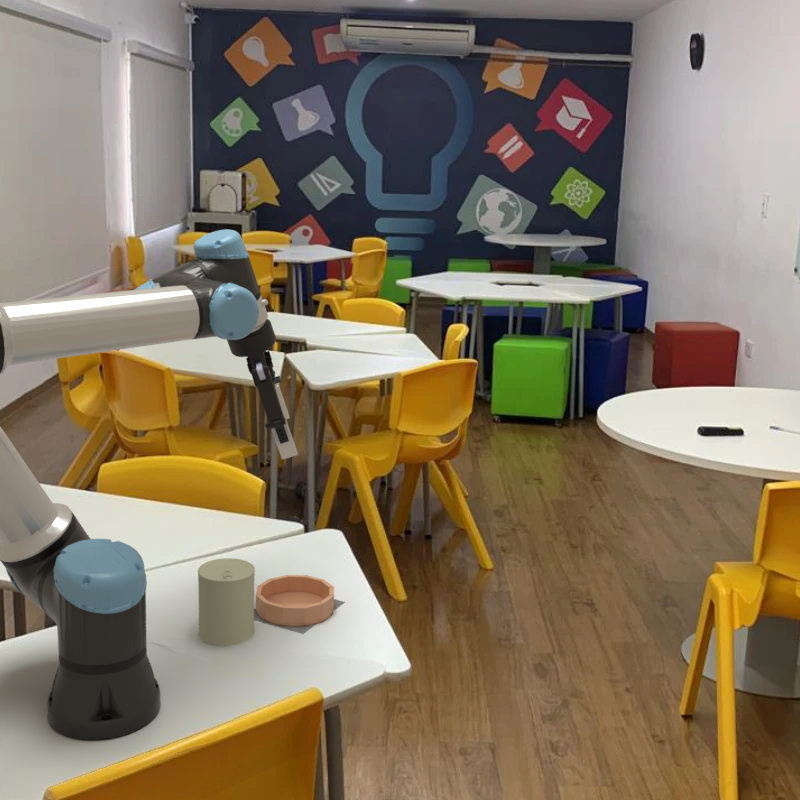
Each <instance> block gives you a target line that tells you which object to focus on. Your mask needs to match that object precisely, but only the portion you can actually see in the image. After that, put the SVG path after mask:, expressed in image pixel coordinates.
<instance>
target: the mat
mask: <svg viewBox="0 0 800 800" xmlns="http://www.w3.org/2000/svg"><path fill="white" fill-rule="evenodd" d="M345 603H346V601H343V600H339V599H335V598H334V611H336V610H337V609H338V608H339V607H341V606H342V605H343V604H345ZM254 621H256V622H259V623H263V624H265V625H266V624H267V625H270V626H274V627H278V628H281V629H284V630H287V631H290V632H295V633H299V634H302V635H304V634H305V633H306V632H307V631H309V630H310V629H311V628H313V627H315V625H317V624H314V625H309V626H302V627H287V626H279V625H275V624H272V623H269V622H266V621H265V620H263V619H262V618H260V617H259V616H258V614H257V611H256V607H254Z"/></svg>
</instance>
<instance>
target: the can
mask: <svg viewBox="0 0 800 800" xmlns="http://www.w3.org/2000/svg"><path fill="white" fill-rule="evenodd" d="M255 573H256V568H255V566H254V565H253V564H252V563H251V562H250V561H248V560H244V559H239V558H228V557H227V558H217V559H212V560H208V561H206V562H204V563H202V564H201V565H199V567H198V569H197V576H198V577H197V578H198V581H197V582H198V584H197V585H198V631H197V636H198V638H199V639H200V640H201V641H203V643H206V644H209V645H212V646H220V647H221V646H224V647H226V646H228V647H229V646H235V645H240V644H243V643H245V642H247V641H250V640H251V639H252V638H253V636H254V635H255V632H256V631H255V620H254V609H255V575H256V574H255Z"/></svg>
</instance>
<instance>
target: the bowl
mask: <svg viewBox="0 0 800 800" xmlns="http://www.w3.org/2000/svg"><path fill="white" fill-rule="evenodd" d="M256 587H257V588H256V593H255V608H256V611H257V614H258V616H259V617H260V618H262V619H263V620H265V621H266V622H269V623H272V624H275V625H279V626H287V627H302V626H309V625H314V624H316V625H317V624H320V623H323V622H325V621H326V620H327V619H329V618H330V617H331V616H332V615H333V614H334V611H335V610H334V599H335V587H334V585H332V584H330V583H329V582H328V581H326V580H325V579H323V578H319V577H315V576H312V575H307V574H306V575H305V574H301V575H299V574H285V575H281V576H275V577H271V578H268V579H266V580H265V581H263V582H261V583H260V584H259V585H257V586H256ZM314 626H315V625H314Z"/></svg>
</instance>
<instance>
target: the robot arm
mask: <svg viewBox="0 0 800 800" xmlns="http://www.w3.org/2000/svg"><path fill="white" fill-rule="evenodd" d="M193 251H194V252H193V253H194V258H192V259H190V260H189V261H188V262H186V263H183V264H180V265H179V266H177V267H175V268H173V269H171V270H169V271H167V272H165V273H162V274H160V275H158V276H157V277H154V278H153V279H152V278H149V280H148V281H146V282H145V283H143V284H141V285H140V286H138V287H136V288H134V289H133V290H131V289H130V290H121V291H111V292H102V293H101V292H98V293H91V294H79V295H70V296H59V297H49V298H48V297H47V298H40V299H39V298H37V299H30V300H29V299H28V300H21V301H20V300H18V301H10V302H0V376H1V375H2V374H4V372H5V371H6V369H7V368H9V367H8V366H14V365H15V366H16V365H20V364H27V363H28V364H30V363H36V362H42V361H48V360H56V359H57V360H58V359H62V358H64V359H65V358H70V357H78V356H84V355H85V356H86V355H90V354H99V353H106V352H111V351H112V352H113V351H119V350H127V349H134V348H141V347H146V346H147V347H148V346H154V345H160V344H161V345H162V344H167V343H175V342H184V341H190V340H200V339H206V338H214V337H215V338H219V339H222V340H225V341H227V345H228V348H229V350H230V352H231V353H232V355H233V356H235V357H238V358H244V357H245V358H246V363H247V364H246V366H247V369H248V371H249V374H250V375H251V376H252V380H253V382H254V384H253V385H254V386H255V388H257V390H258V394H259V396H260V400H261V403H262V407H263V409H264V412H265V415H266V418H267V421H268V423H265V425H264V426H265V429H270V430H271V432H272V435H273V438H274V441H275V443H276V447H277V449H278V452H279V455H280V458H281V460H286V459H290V458H292V457H296V456H299V453H298V450H297V447H296V443H295V441H294V438H293V436H292V432H291V430H290V427H289V423H288V421H287V420H288V419H290V418H291V417H290V413H289V410H288V408H287V405H286V403H285V399H284V397H283V394H282V391H281V387H280V385H279V383H282V379H281V376H280V375H277V376H276V371H275V370H274V369H273V368H274V364H273V361H272V360H273V358H272V356H271V351H270V350H269V349H271V348H272V347H273V346H274V345H275V343H276V341H277V336H276V334H275V330H274V328H273V325H272V322H271V320H270V319H268V318H269V314H268V311H267V308H266V306H268V304H269V301H268V300H267V298H263V296H262V293H261V290H260V286H259V283H258V280H257V278H256V274H255V271H254V268H253V264H252V263H251V259H250V254H249V252H248V250H247V247H246V245H245V242H244V240H243V239H242V236H241V235H240V233H239V232H238V231H237V230H233V229H227V228H225V229H219V230H215V231H212V232H209V233H206V234H205V235H203V236H201V237H199V238H198V239H197V240H195V241H194V244H193ZM0 562H1V563H2V565H3V566H4V568H5V570H6V573H7V576H8V577H9V579H10V583H11V584H12V586H14V587H15V589H16V590H17V591H18V592H19V593H21V594H22V595H23V596H24V597H26V598H27V599H29V600H30V601H31V602H32V603H33V604H34V605H36V606H37V607H38V608H39V609H40V610H41V611H42V612H43V613H45V614H46V615H47V616H48V617H49V618H50V619H51V620H52V621H53V622H55V624H56V627H57V630H56V631H57V648H58V666H57V670H56V672H55V675H54V678H53V679H54V680H53V682H52V687H51V690H50V692H49V693H48V694H49V695H48V696H47V697H48V698H47V703H46V705H47V707H46V708H47V720H48V723H49V725H50V727H52V728H53V730H54V731H56V732H57V733H60V734H61V735H64V736H66V737H70V738H72V739H73V738H74V739H80V740H107V739H113V738H117V737H118V738H119V737H120V736H121V737H122V736H124V735H128V734H131V733H133V732H135V731H137V730H140V729H141V728H143V727H145V726H147V725H148V724H149V723H150V722H151V721H153V720H154V719H155V717H156V716H157V715H158V714H159V711H160V710H161V709H160V708H161V689H160V685H159V682H158V680H157V679H156V678H155V674H154V670H153V667H152V665H151V663H150V662H151V661H150V660H149V657H148V654H147V650H148V649H147V606H146V605H147V586H148V585H147V574H146V571H145V563H144V560H143V557H142V555H141V554H140V553H139V552H138V550H136V549H135V548H134V547H133V546H131V545H129V544H127V543H125V542H122V541H120V540H116V541H112V540H111V538H110V539H109V538H91V537H90V536H89V535H88V533H87V532H86V531H85V529H84V527H83V526H82V524H81V523H80V521H79V519H77V517H76V515H75V514H74V513H73V511H72V510H71V508H70V507H69V506H68V505H66V504H63V503H59V502H53V501H52V500H51V499H50V497H49V496H48V494H47V493H46V491H45V490H44V489H43V487H42V485H41V484H40V483H39V481H38V479H37V477H36V476H35V475H34V474H33V472H32V471H31V469H30V468H29V466H28V465H27V463H26V462H25V460H24V459H23V458H22V455H21V454H20V453H19V452H18V450H17V449H16V447H15V446H14V443H12V441H11V440H10V438H9V437H8V435H7V434H6V432H5V431H4V430H3V428H2V427H1V426H0Z"/></svg>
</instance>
